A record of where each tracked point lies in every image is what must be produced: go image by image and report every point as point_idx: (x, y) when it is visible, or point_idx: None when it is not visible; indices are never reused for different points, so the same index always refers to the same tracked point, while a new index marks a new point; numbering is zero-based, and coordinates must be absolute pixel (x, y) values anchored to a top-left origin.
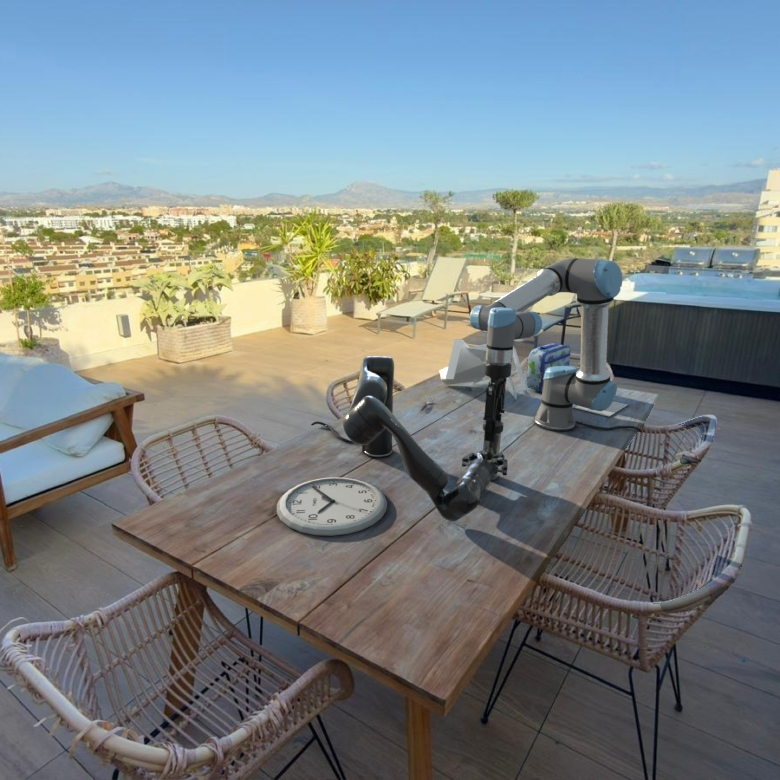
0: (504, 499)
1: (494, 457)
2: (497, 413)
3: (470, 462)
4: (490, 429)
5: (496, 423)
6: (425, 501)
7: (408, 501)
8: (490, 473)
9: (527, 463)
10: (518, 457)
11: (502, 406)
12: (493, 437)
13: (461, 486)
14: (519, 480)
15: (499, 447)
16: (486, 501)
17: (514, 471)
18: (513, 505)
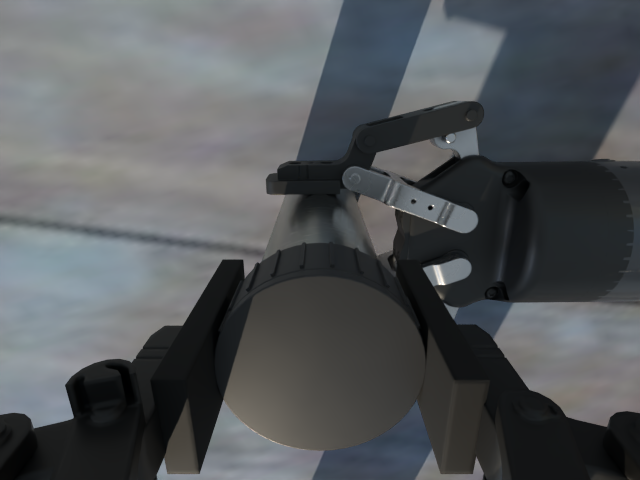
0: (507, 83)
1: (357, 210)
2: (167, 423)
3: (469, 303)
4: (492, 348)
5: (322, 342)
6: (610, 342)
7: (624, 385)
8: (597, 171)
9: (76, 72)
10: (38, 133)
11: (6, 467)
12: (426, 278)
13: None
14: (289, 64)
15: (325, 209)
16: (549, 150)
17: (206, 112)
18: (550, 28)
